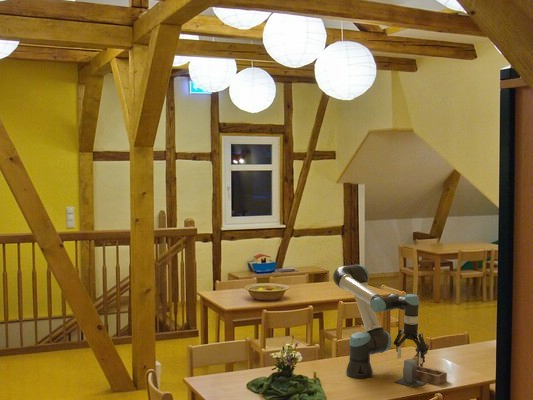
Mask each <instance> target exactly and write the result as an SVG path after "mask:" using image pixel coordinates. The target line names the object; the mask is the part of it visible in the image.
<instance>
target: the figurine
mask: <svg viewBox="0 0 533 400" xmlns="http://www.w3.org/2000/svg"><path fill="white" fill-rule="evenodd" d="M425 344H426V347H427V349H428V351H429V349H430V345H428V344H427V343H425ZM428 351H426V352H424V358H423V363H422V364H419V352H420V350H419V348H418V347H417V346H416V348H415V352H416V354H415V355H414V356H413V357H411V358H410V359H413V360H417V366H421V367H424V363H425V362H426V360H425V358H426V356H425V355H427V354H428Z"/></svg>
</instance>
